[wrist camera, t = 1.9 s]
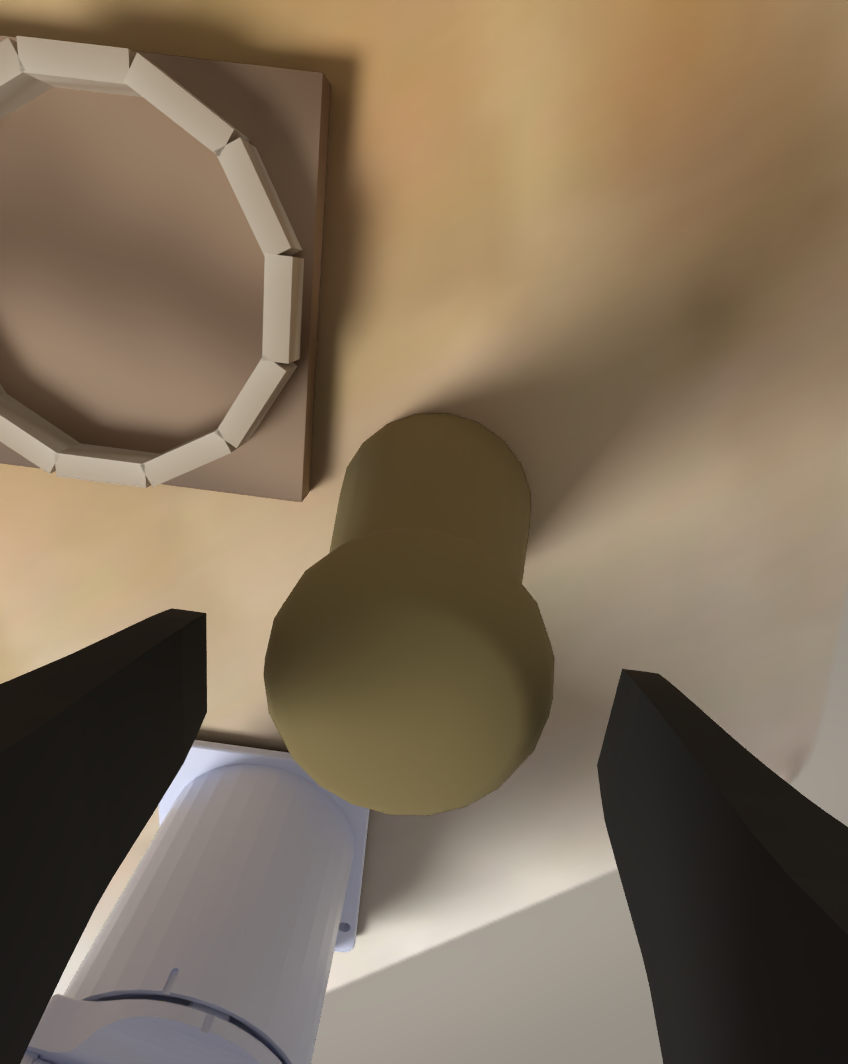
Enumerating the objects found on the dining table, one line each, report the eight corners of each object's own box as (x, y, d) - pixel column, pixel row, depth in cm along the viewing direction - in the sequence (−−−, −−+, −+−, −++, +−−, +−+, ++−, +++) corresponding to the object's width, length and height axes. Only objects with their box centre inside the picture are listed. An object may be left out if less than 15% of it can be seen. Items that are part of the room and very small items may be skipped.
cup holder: (309, 492, 21) (291, 515, 19) (-32, 448, 21) (-86, 466, 19) (331, 84, 17) (311, 57, 15) (-88, 36, 17) (-165, 1, 15)
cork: (548, 426, 19) (636, 585, 9) (513, 606, 22) (554, 897, 11) (347, 400, 20) (213, 526, 9) (332, 581, 22) (211, 846, 11)
